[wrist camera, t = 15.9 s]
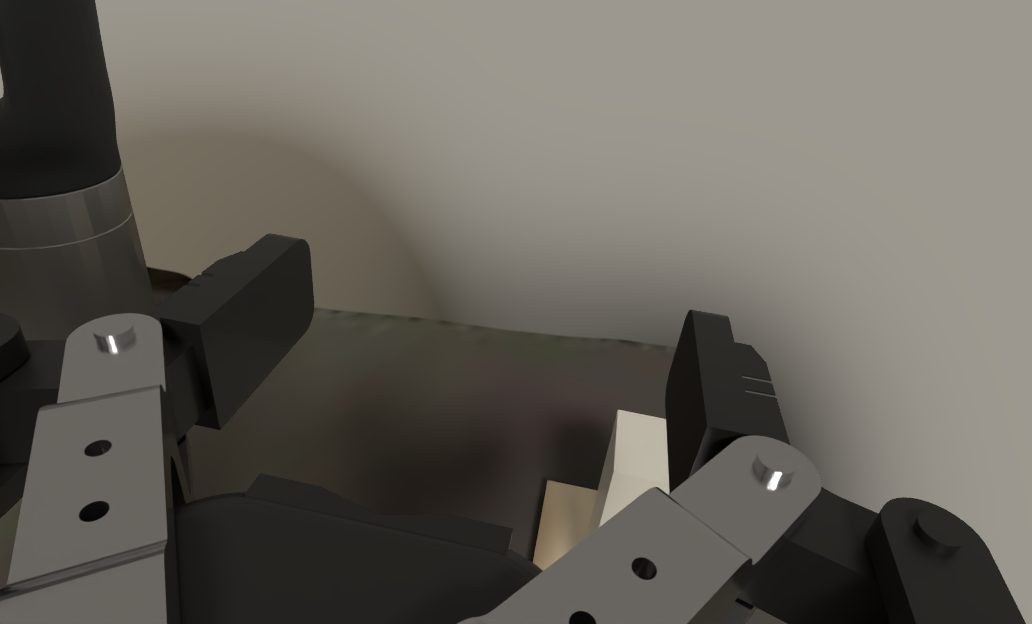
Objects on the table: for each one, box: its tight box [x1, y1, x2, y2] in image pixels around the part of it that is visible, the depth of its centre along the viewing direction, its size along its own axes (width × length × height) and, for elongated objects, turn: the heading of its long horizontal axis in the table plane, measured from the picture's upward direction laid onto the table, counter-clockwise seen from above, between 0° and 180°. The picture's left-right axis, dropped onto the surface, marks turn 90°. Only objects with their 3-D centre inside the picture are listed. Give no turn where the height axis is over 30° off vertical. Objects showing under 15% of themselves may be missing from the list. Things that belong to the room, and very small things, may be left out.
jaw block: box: [586, 410, 669, 537], centre depth 33 cm, size 4×4×11 cm
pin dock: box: [533, 480, 597, 571], centre depth 35 cm, size 10×14×4 cm
